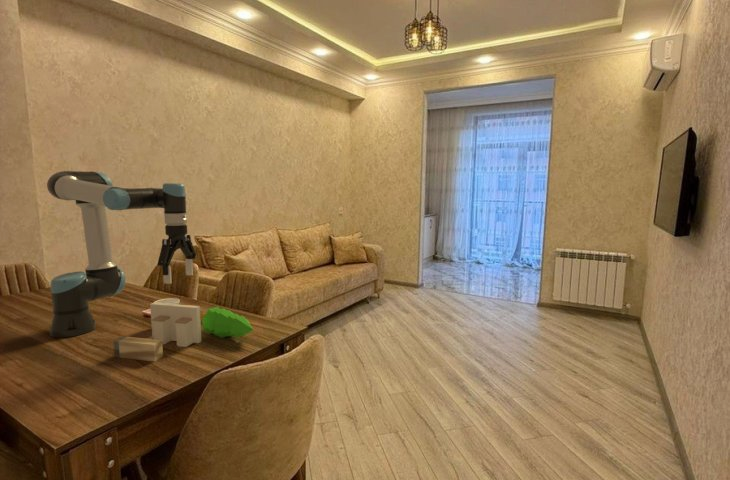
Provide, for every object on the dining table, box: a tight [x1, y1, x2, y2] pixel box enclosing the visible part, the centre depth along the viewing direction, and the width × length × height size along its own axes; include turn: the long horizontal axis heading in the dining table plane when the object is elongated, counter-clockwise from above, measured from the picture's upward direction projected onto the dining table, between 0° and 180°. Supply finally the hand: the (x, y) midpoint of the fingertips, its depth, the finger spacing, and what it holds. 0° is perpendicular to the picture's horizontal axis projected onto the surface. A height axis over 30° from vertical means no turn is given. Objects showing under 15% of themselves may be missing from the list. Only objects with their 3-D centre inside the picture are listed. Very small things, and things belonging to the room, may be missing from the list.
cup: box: [153, 297, 181, 305], centre depth 167 cm, size 10×10×11 cm
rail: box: [113, 335, 164, 362], centre depth 138 cm, size 4×16×6 cm, turn 78°
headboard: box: [149, 302, 202, 348], centre depth 151 cm, size 20×6×14 cm, turn 78°
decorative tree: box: [200, 306, 254, 339], centre depth 157 cm, size 11×12×30 cm
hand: (179, 279), depth 153 cm, fingers open, 13 cm apart
